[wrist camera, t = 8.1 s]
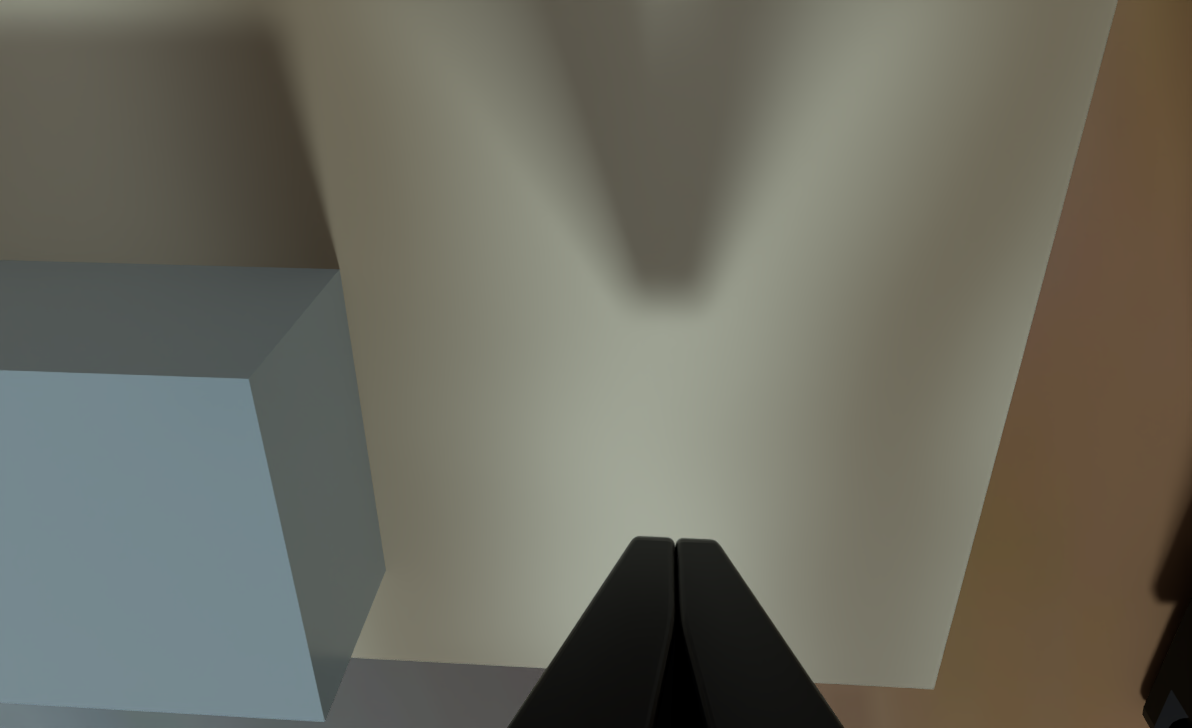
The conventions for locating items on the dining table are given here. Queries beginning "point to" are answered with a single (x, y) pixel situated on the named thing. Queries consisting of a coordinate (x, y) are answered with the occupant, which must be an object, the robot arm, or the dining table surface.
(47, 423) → the tile
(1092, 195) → the dining table surface
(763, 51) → the board
